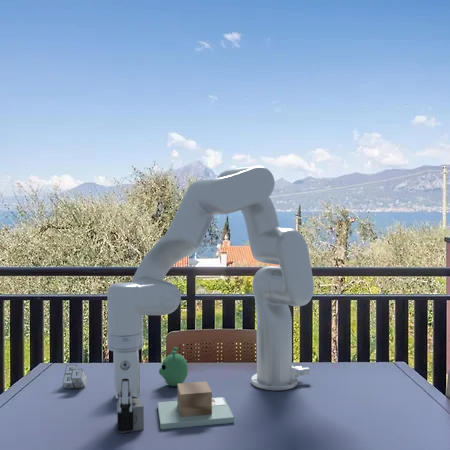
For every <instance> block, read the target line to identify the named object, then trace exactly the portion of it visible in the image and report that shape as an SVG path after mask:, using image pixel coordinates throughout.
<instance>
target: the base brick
mask: <svg viewBox="0 0 450 450" xmlns="http://www.w3.org/2000/svg"><path fill="white" fill-rule="evenodd" d="M176 387H177V390H176V391H177V393H176V394H177V400H176V401H177V402H178V409H179V413H180V417H188V416H199V415H210V414H212V398H213V396H212V394H213V393H212V389H211V387H210V385H209V383H208V381H196V382H195V381H194V382H183V383H179V384H177V386H176Z"/></svg>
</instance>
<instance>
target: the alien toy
mask: <svg viewBox="0 0 450 450" xmlns="http://www.w3.org/2000/svg"><path fill="white" fill-rule="evenodd" d="M178 350H179V348H178V347H176V346H175V347H173V348H172V350H171V352H170V354H168V355H167V356H166V357H165V358H164V359H163V361H162V365H161V367H160V368H159V369H158V374H159V375H160V376H161V377H162V378H163V379H164V380H165V381H164V382H165V383H166V384H167V385H168V386H171V387H177V384H179V383H185V380H186V379H187V377H188V372H189V368H188V362H187V360H186V358H185V357H184V356H183V355H182V354H180V353H177V351H178Z"/></svg>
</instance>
